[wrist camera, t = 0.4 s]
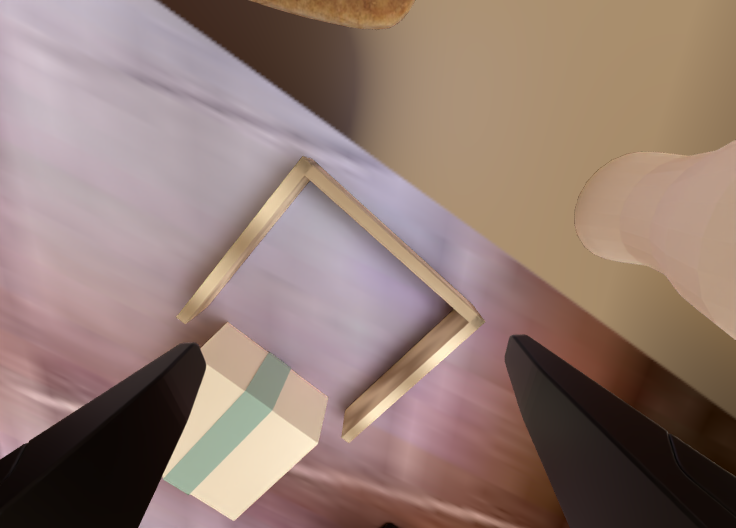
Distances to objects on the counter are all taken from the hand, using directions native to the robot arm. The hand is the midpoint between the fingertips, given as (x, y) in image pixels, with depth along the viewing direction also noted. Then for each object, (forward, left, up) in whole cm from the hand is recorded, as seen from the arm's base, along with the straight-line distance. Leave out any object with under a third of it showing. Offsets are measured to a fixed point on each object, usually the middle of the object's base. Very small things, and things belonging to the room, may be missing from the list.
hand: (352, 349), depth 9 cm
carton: (-18, -1, -15) cm, 24 cm away
